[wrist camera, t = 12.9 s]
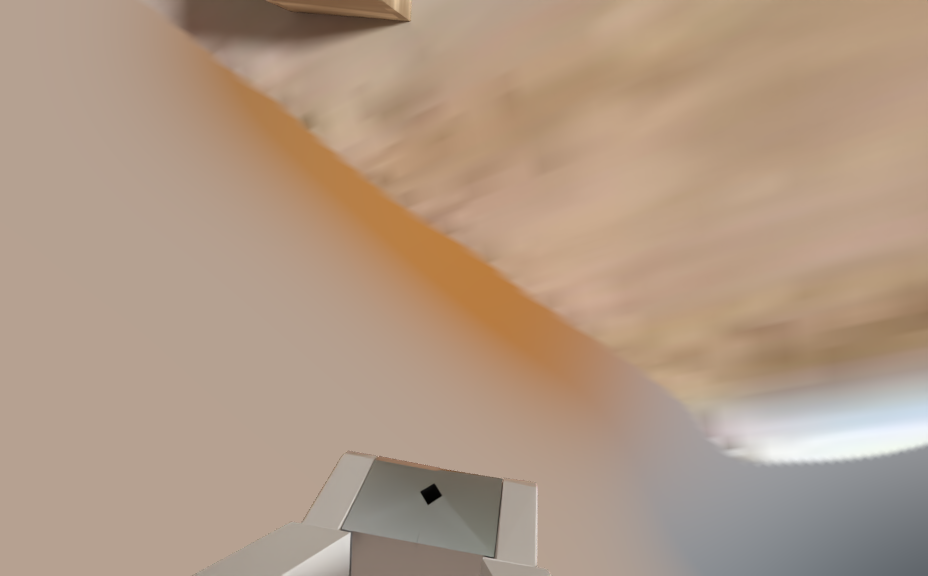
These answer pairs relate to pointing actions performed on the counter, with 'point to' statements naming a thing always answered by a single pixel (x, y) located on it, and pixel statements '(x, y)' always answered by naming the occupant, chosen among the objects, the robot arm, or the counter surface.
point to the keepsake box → (351, 8)
